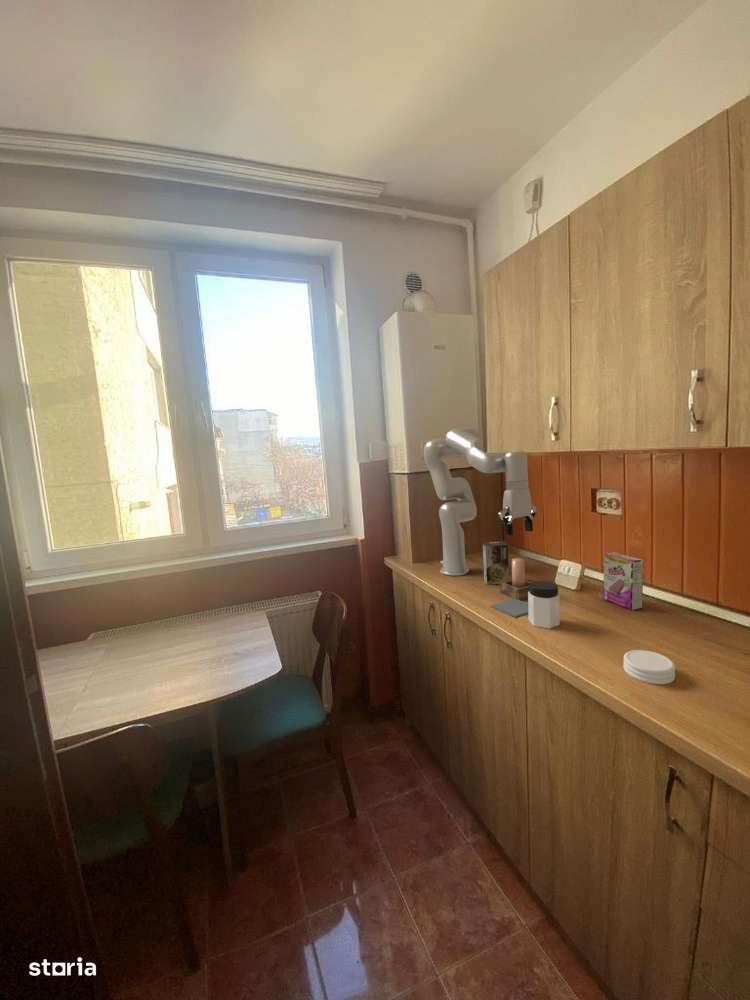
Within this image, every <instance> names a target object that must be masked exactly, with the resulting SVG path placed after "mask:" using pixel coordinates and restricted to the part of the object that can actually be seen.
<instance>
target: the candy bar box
mask: <svg viewBox="0 0 750 1000" xmlns="http://www.w3.org/2000/svg"><path fill="white" fill-rule="evenodd" d="M602 573H603V581H602V582H603V587H602V588H603V594H602V595H603V596H602V597H603V598H602V599H603V600H604V601H607V602H609V603H612V604H614V605H617V606H619V607H622V608H625V609H627V610H629V611H637V610H639V609H640V608H641V609H643V599H644V598H643V597H644V596H643V592H644V587H643V585H644V559H641V558H639V557H634V556H629V555H626V554H623V553H619V552H615V551H613V552H607V553H606V552H605V553H604V554H603V572H602ZM636 609H637V610H636Z"/></svg>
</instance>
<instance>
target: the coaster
mask: <svg viewBox="0 0 750 1000" xmlns="http://www.w3.org/2000/svg"><path fill="white" fill-rule="evenodd" d="M623 670H624V671H625V672H626V674H627V675H629V677H631V678H634V679H636V680H638V681H640V682H643V683H646V684H647V683H648V684H651V685H668V684H672V683H673V682H674V680H675V678H676V671H675V670H676V665H675V663H674V662H673V661H672V660H671V659H670V658H669V657H667V656H665V655H663V654H661V653H658V652H655V651H650V650H643V649H634V650H633V649H632V650H629V651H627V652H625V654H624V655H623Z"/></svg>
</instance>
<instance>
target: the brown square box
mask: <svg viewBox="0 0 750 1000" xmlns="http://www.w3.org/2000/svg"><path fill="white" fill-rule="evenodd" d="M532 582H533V581H530V580H529V581H528V580H526V579H525V586H524V587H521V588H517V587H514V586H512V579H509V580H508V581H504V582H501V583H500V584H499V593H500V594H501V595H504V596H506V597H509V598H512V599H514V598H515V599H517V600H520V601H523V600H525V599H528V592H529V584H530V583H532Z"/></svg>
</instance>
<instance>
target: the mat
mask: <svg viewBox="0 0 750 1000" xmlns="http://www.w3.org/2000/svg"><path fill="white" fill-rule="evenodd" d="M490 608H493V609H494V610H497V611H499V612H502V613H504V614H506V615H508V616H510V617H512V618H518V617H522V616H525V615H527V614H528V602H525V601H523V600H517V599H515V598H512V599H508V600H504V601H501V602H498V603H494V604H490ZM528 615H529V614H528Z"/></svg>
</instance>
